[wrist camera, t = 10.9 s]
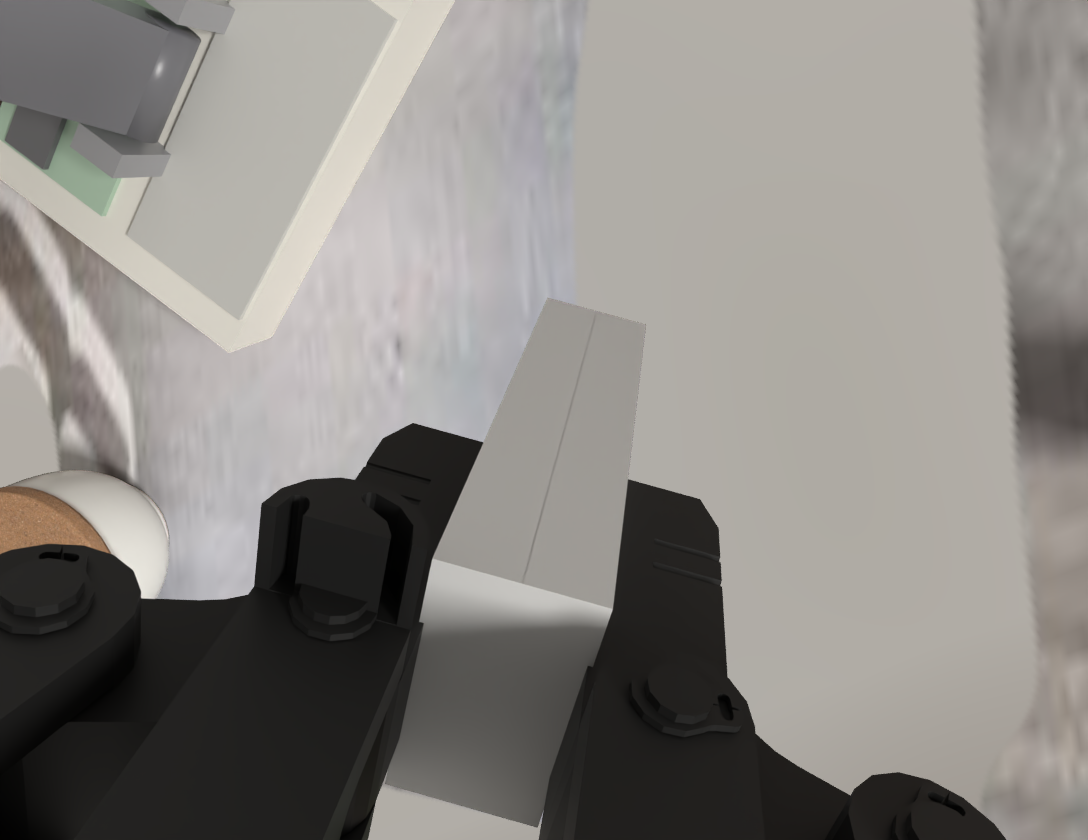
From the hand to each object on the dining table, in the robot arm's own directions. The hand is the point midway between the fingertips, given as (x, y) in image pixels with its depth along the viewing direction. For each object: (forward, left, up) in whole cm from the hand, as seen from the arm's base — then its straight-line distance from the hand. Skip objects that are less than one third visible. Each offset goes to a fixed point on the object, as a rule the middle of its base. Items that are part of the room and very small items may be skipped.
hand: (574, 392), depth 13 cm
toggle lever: (-11, -22, -24) cm, 34 cm away
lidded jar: (+12, -38, -29) cm, 49 cm away
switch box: (-11, -23, -29) cm, 38 cm away
